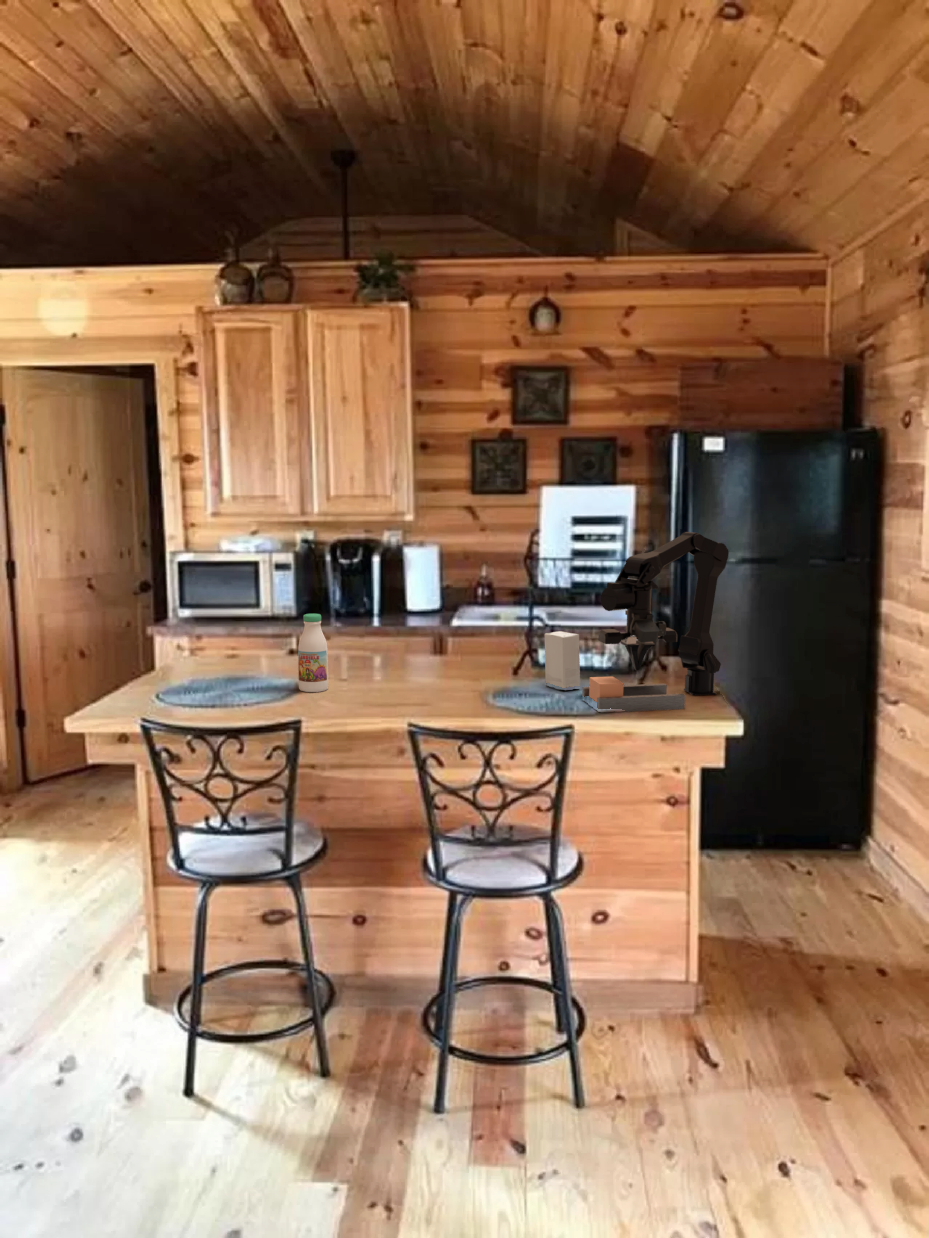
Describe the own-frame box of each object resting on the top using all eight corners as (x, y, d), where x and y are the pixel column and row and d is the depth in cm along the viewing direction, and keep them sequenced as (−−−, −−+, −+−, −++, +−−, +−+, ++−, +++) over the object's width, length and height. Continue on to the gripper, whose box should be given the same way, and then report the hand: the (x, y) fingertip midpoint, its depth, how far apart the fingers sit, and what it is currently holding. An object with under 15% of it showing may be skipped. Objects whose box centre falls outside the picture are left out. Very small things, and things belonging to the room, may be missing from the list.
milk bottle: (301, 686, 277) (299, 612, 274) (330, 686, 277) (328, 612, 274) (296, 692, 270) (295, 616, 266) (326, 692, 270) (325, 616, 267)
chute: (663, 696, 267) (664, 683, 267) (684, 709, 255) (684, 695, 254) (582, 700, 263) (582, 687, 262) (598, 713, 250) (599, 698, 250)
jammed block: (611, 695, 262) (612, 676, 261) (622, 703, 254) (623, 683, 253) (589, 696, 261) (589, 677, 260) (599, 704, 253) (600, 684, 252)
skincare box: (580, 689, 275) (581, 634, 273) (562, 692, 272) (563, 636, 269) (560, 683, 282) (561, 629, 280) (543, 686, 279) (544, 631, 276)
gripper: (613, 613, 245) (612, 678, 248) (687, 611, 249) (685, 675, 252) (598, 606, 256) (596, 668, 259) (669, 605, 260) (667, 666, 262)
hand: (636, 670), depth 258 cm, fingers closed
